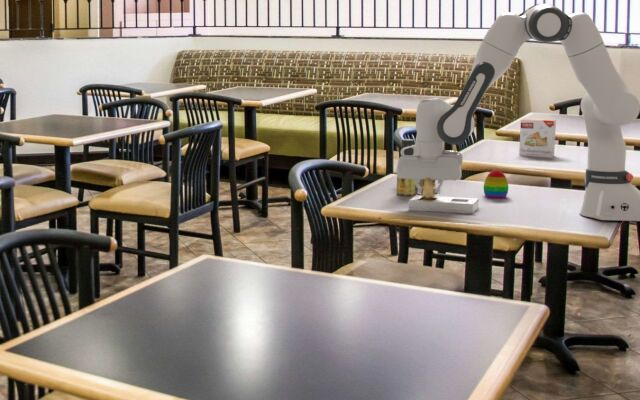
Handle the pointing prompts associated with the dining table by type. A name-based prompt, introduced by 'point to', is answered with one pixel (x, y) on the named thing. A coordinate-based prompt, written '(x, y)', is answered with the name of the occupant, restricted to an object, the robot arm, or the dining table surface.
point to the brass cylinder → (428, 189)
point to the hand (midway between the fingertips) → (428, 193)
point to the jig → (444, 204)
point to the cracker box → (537, 138)
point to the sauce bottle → (406, 185)
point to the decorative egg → (496, 185)
